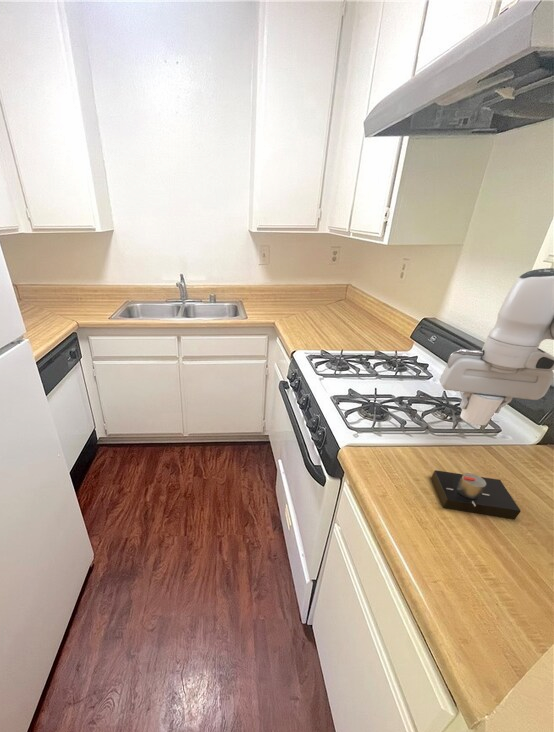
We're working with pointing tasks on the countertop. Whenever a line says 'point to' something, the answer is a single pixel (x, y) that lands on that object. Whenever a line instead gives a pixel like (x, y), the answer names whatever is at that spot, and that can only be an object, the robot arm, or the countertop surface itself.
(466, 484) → the hob knob
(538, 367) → the robot arm
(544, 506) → the countertop surface
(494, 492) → the black knob base
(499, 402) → the white cylinder
